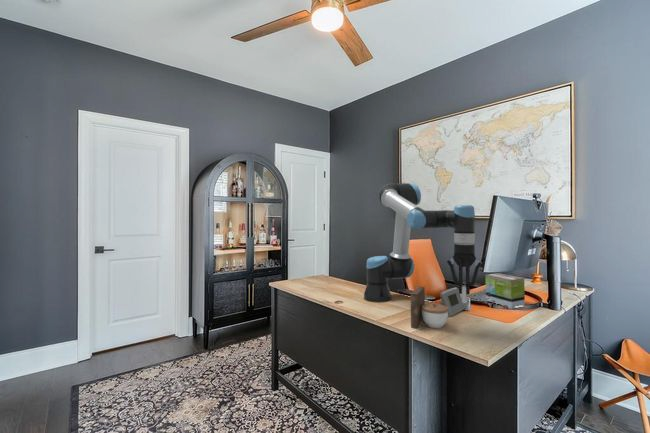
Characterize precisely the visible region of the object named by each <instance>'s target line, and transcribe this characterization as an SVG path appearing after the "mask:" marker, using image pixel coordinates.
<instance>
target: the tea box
mask: <svg viewBox="0 0 650 433" xmlns="http://www.w3.org/2000/svg"><path fill="white" fill-rule="evenodd" d="M484 277H485V279H484V280H485V299H486V298H489V299H491V300H492V301H493V302H494V303H496V304H495V305H497V304H503V305H507V306H508V308H507V309H510V310H514V307H515V306H519V305H526V304H525V302H526V300H525V297H526V296H525V292H526V291H525V277H520V276H516V275H510V274H504V273H499V272H498V273H497V272H496V273H490V274H485V276H484Z"/></svg>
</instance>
